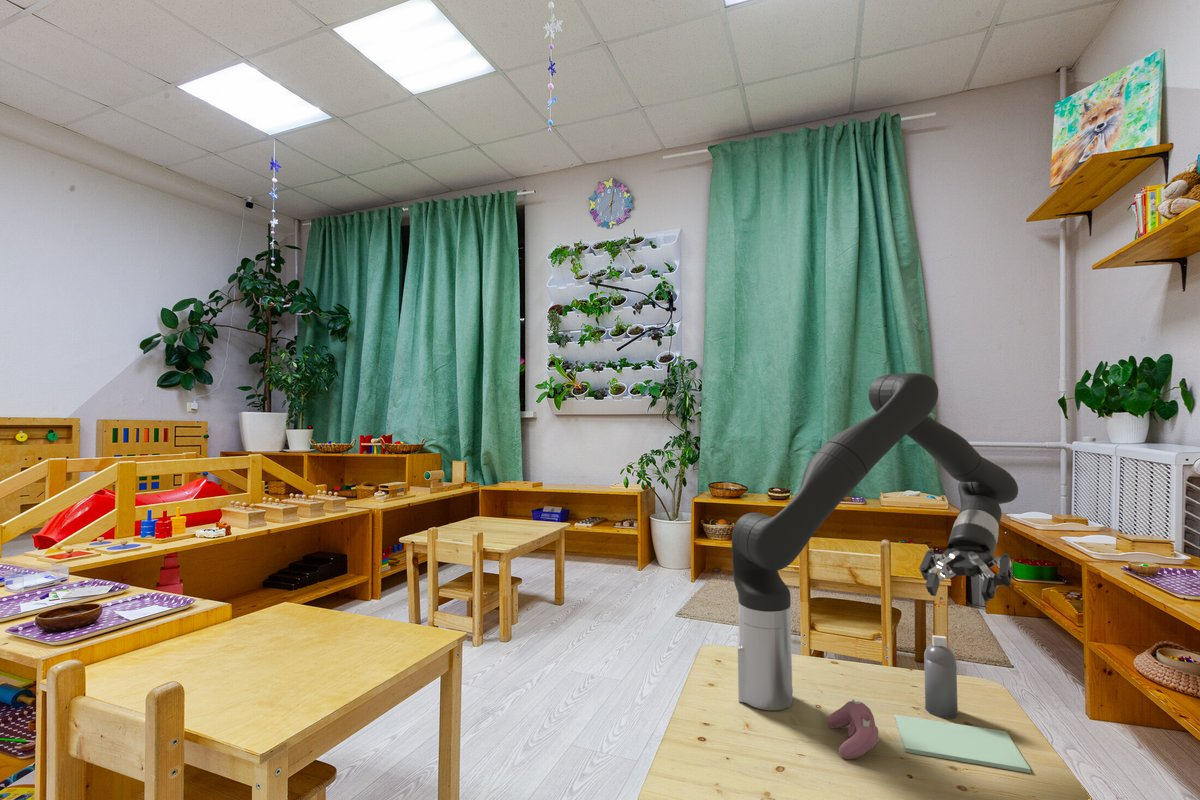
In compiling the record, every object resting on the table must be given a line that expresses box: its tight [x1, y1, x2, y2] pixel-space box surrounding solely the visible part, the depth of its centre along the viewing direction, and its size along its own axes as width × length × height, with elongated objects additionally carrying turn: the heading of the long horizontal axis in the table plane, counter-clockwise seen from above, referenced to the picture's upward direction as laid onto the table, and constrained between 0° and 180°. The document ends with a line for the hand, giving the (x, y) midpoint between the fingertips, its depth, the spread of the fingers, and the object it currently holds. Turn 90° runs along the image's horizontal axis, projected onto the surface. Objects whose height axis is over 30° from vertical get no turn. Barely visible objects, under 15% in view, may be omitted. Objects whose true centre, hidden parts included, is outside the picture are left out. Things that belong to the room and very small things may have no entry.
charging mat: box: [894, 714, 1032, 774], centre depth 87 cm, size 16×10×1 cm, turn 70°
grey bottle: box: [923, 634, 959, 720], centre depth 97 cm, size 5×5×13 cm
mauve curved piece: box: [827, 699, 880, 760], centre depth 88 cm, size 10×5×7 cm, turn 169°
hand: (957, 594), depth 100 cm, fingers open, 8 cm apart
